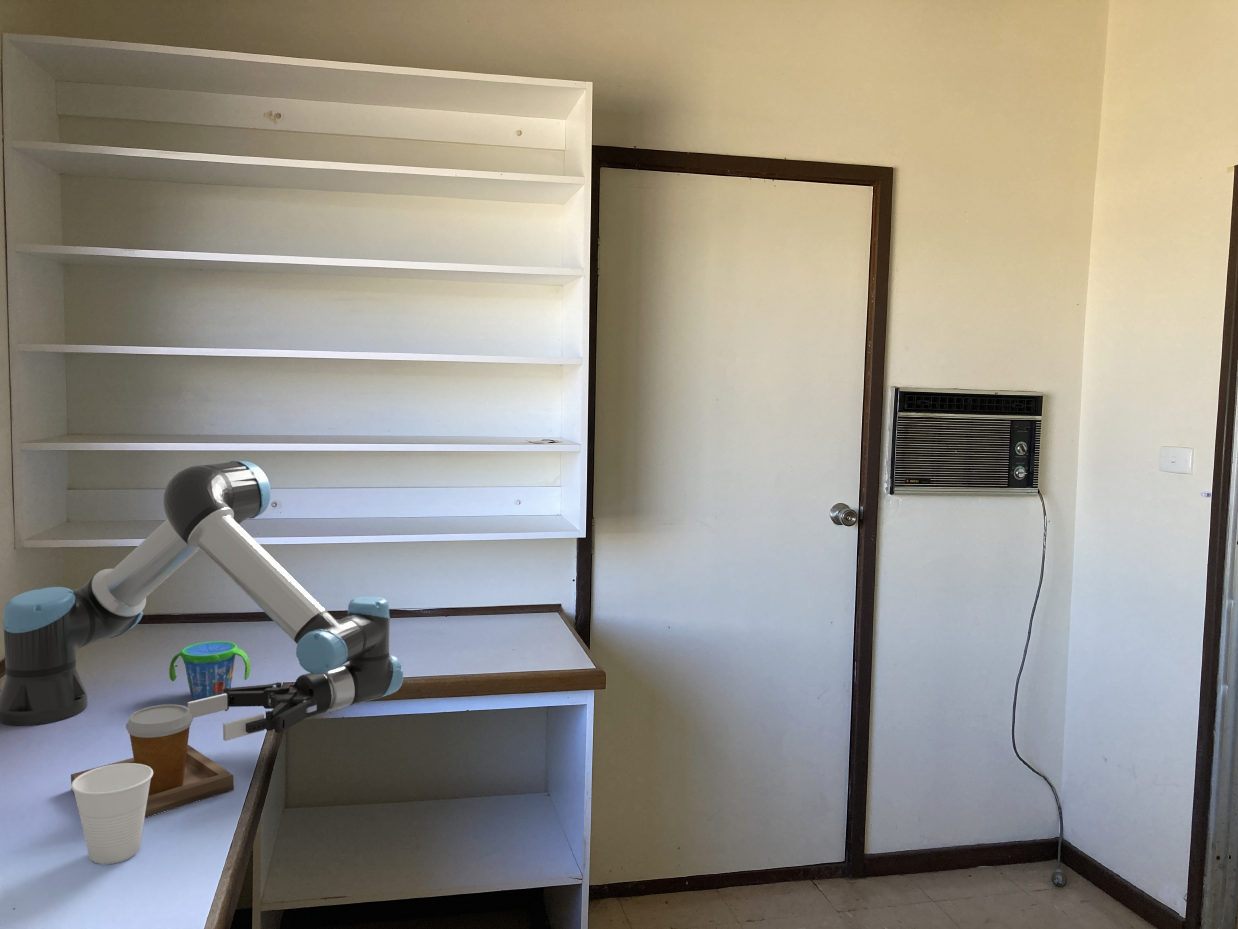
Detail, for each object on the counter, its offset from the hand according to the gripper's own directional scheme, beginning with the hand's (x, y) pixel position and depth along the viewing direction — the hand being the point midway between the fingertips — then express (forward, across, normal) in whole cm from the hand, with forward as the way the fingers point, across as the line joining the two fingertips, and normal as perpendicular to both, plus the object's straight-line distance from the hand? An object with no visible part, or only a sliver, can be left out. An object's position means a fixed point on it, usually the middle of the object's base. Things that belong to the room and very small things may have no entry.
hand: (205, 721), depth 153 cm
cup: (+20, -17, -9) cm, 28 cm away
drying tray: (+8, 0, -9) cm, 12 cm away
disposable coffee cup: (+8, -2, -8) cm, 12 cm away
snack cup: (-17, +37, -9) cm, 42 cm away
